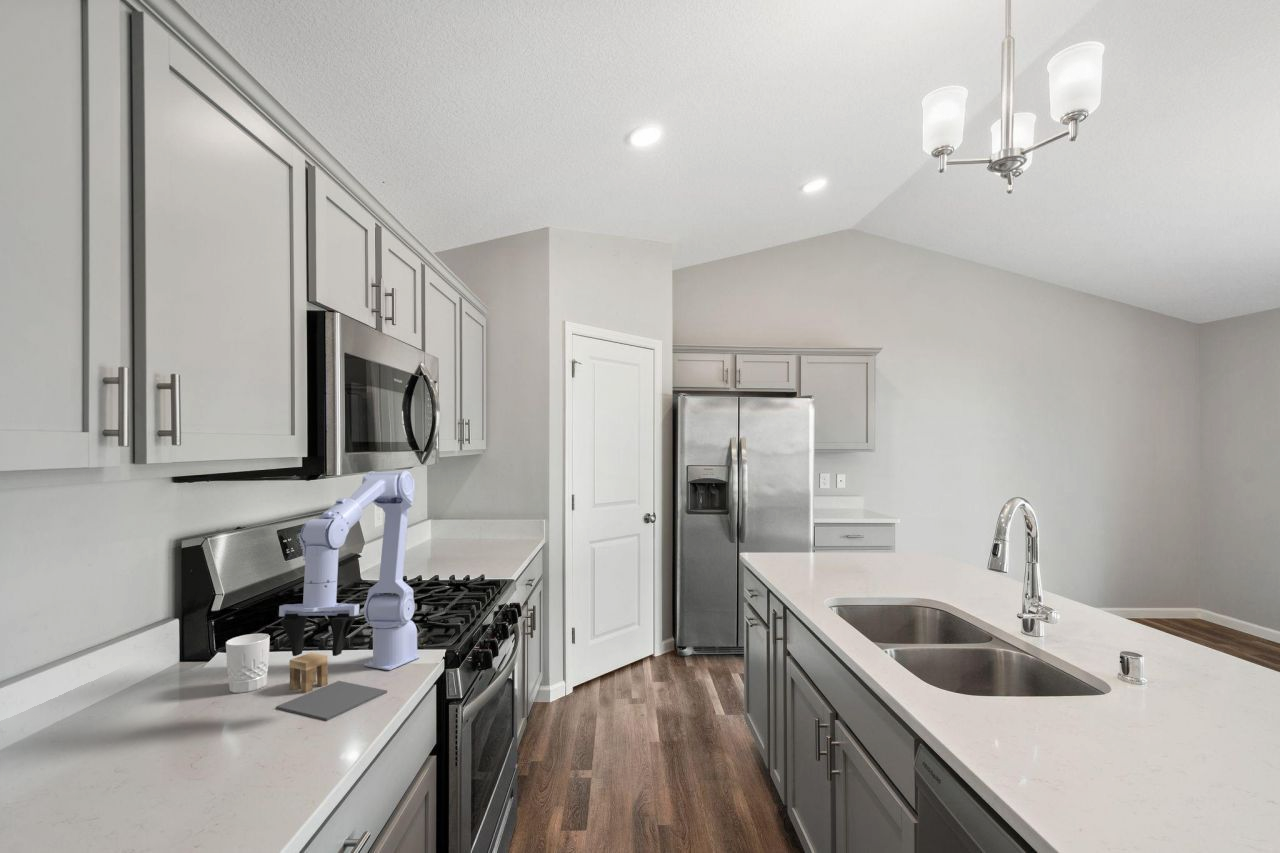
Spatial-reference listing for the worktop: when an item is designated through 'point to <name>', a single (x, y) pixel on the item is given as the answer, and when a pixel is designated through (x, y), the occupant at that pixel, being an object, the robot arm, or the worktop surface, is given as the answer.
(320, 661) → the tan notched block
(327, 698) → the mat
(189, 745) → the worktop surface
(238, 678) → the white cup
